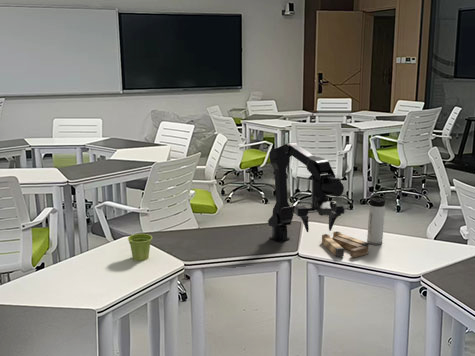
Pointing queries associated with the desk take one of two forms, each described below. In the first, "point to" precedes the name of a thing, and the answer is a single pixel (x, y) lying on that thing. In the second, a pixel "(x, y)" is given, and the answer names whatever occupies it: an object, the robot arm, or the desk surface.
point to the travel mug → (376, 220)
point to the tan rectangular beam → (351, 244)
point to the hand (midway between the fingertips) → (318, 231)
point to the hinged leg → (332, 245)
